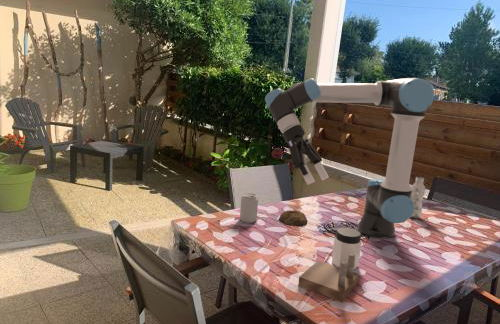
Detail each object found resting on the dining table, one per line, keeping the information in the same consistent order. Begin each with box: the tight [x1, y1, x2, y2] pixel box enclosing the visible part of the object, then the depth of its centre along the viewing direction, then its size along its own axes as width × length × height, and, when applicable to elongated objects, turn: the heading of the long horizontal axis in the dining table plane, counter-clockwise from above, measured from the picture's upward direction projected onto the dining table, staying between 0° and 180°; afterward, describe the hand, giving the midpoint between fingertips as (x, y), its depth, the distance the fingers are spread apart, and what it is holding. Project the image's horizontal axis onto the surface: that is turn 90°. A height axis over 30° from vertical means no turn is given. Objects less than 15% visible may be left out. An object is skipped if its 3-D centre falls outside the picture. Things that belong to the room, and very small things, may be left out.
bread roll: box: [278, 209, 308, 227], centre depth 170 cm, size 13×12×5 cm
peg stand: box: [298, 254, 360, 303], centre depth 116 cm, size 14×14×10 cm
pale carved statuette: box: [410, 176, 426, 219], centre depth 183 cm, size 6×7×20 cm
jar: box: [331, 227, 363, 270], centre depth 129 cm, size 9×8×12 cm
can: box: [239, 192, 259, 224], centre depth 166 cm, size 8×8×12 cm
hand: (318, 181), depth 132 cm, fingers open, 13 cm apart
